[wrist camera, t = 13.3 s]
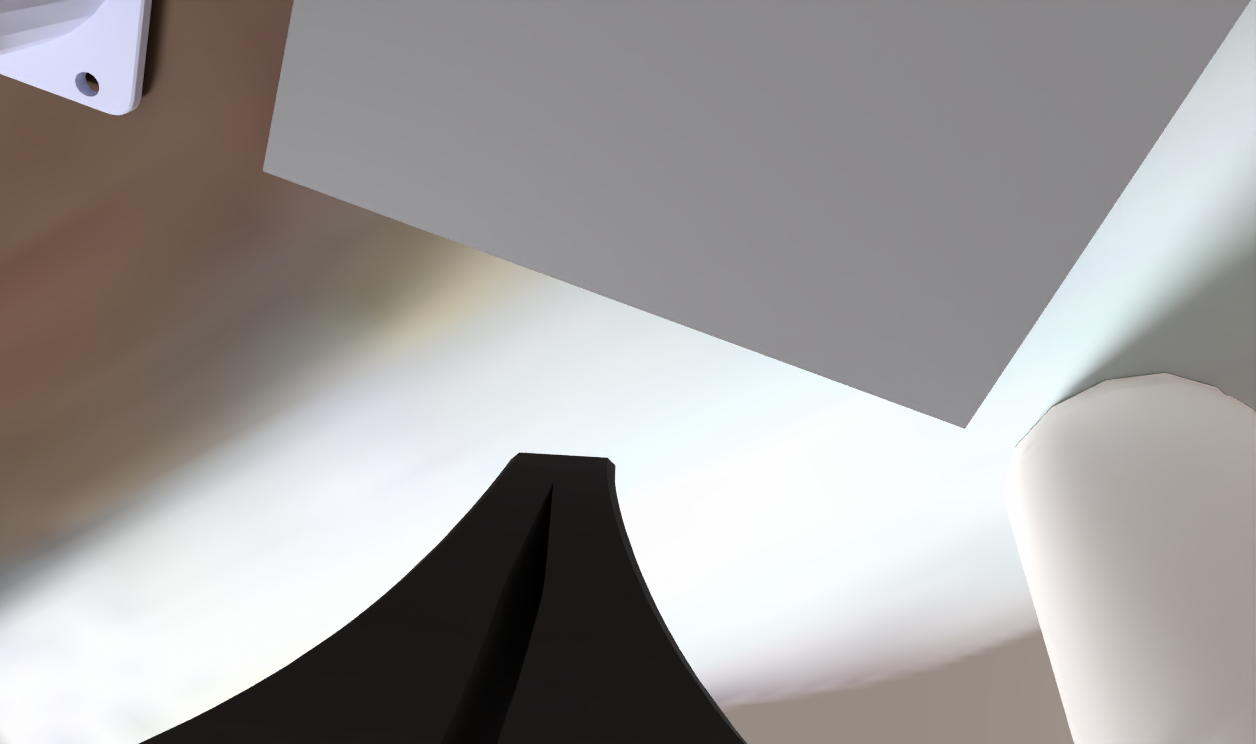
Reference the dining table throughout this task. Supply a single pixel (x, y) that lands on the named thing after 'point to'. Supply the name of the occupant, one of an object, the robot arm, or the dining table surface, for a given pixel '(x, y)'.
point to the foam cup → (1144, 558)
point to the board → (758, 156)
